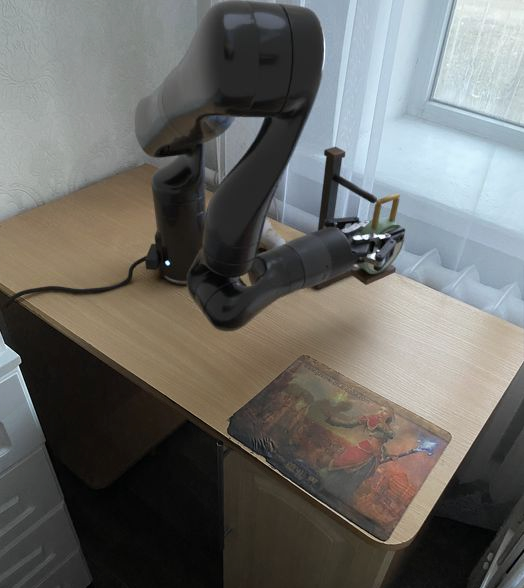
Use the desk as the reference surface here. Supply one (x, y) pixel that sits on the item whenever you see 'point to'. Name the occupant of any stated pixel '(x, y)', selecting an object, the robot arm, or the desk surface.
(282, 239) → the spotted gourd
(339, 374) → the desk surface
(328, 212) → the rack
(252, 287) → the robot arm
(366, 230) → the clock
